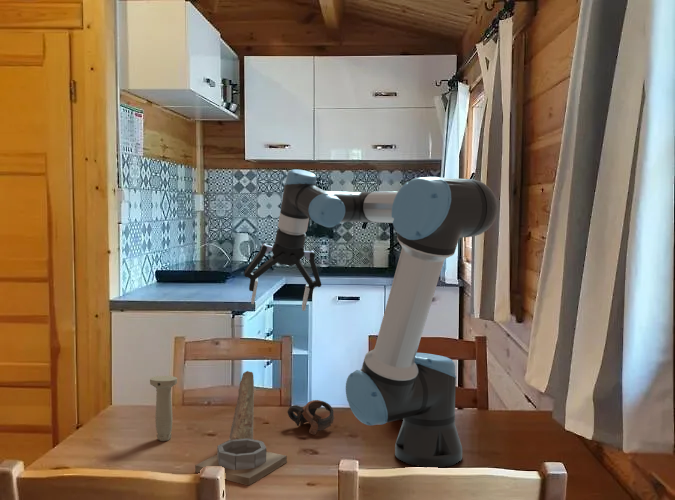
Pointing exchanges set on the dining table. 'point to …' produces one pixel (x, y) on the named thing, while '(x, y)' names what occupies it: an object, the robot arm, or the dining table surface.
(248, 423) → the tapered stone pillar
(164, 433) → the handle
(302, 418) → the dark twisted loops
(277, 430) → the dining table surface
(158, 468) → the dining table surface
